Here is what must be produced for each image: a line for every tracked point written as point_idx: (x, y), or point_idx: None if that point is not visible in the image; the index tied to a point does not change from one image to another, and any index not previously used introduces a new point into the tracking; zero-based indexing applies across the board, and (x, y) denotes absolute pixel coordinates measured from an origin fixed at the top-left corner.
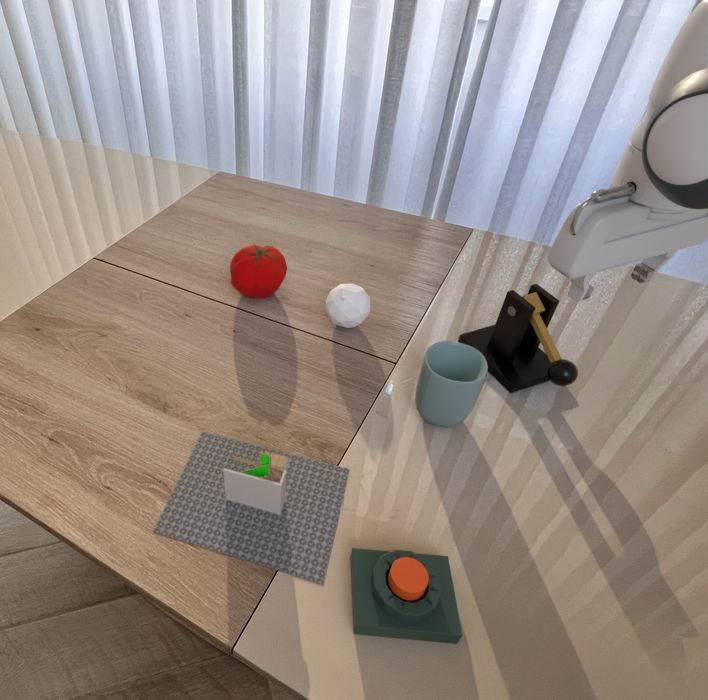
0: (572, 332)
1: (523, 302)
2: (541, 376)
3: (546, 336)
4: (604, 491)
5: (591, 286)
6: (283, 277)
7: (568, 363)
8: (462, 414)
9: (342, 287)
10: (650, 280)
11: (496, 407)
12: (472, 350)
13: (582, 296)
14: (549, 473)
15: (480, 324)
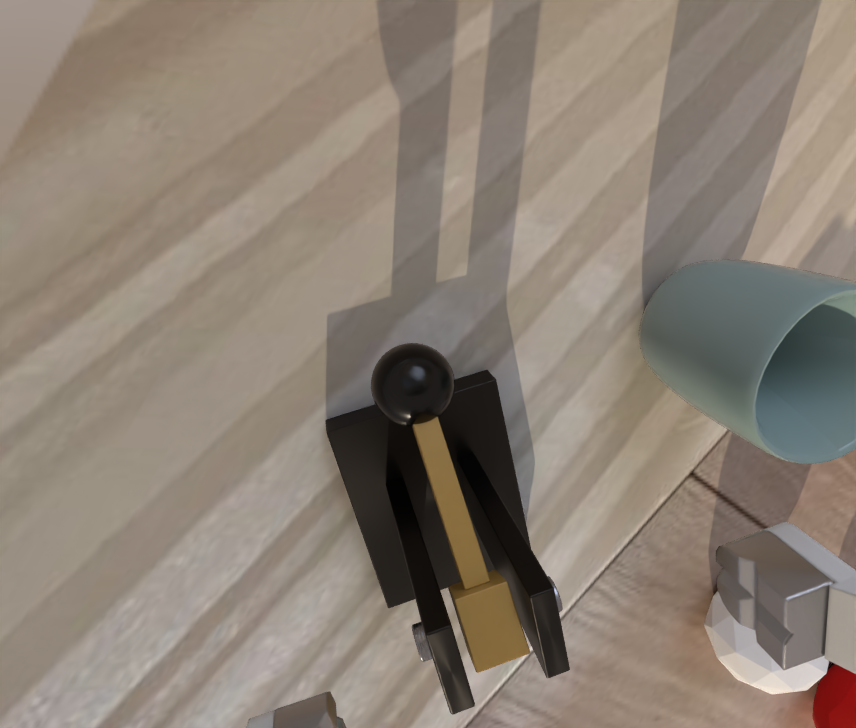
0: (204, 580)
1: (553, 620)
2: None
3: (455, 502)
4: (421, 8)
5: (789, 611)
6: (844, 707)
7: (418, 399)
8: (734, 262)
9: (821, 676)
10: (265, 716)
11: (542, 326)
12: (758, 426)
13: (813, 543)
14: (529, 95)
15: None
